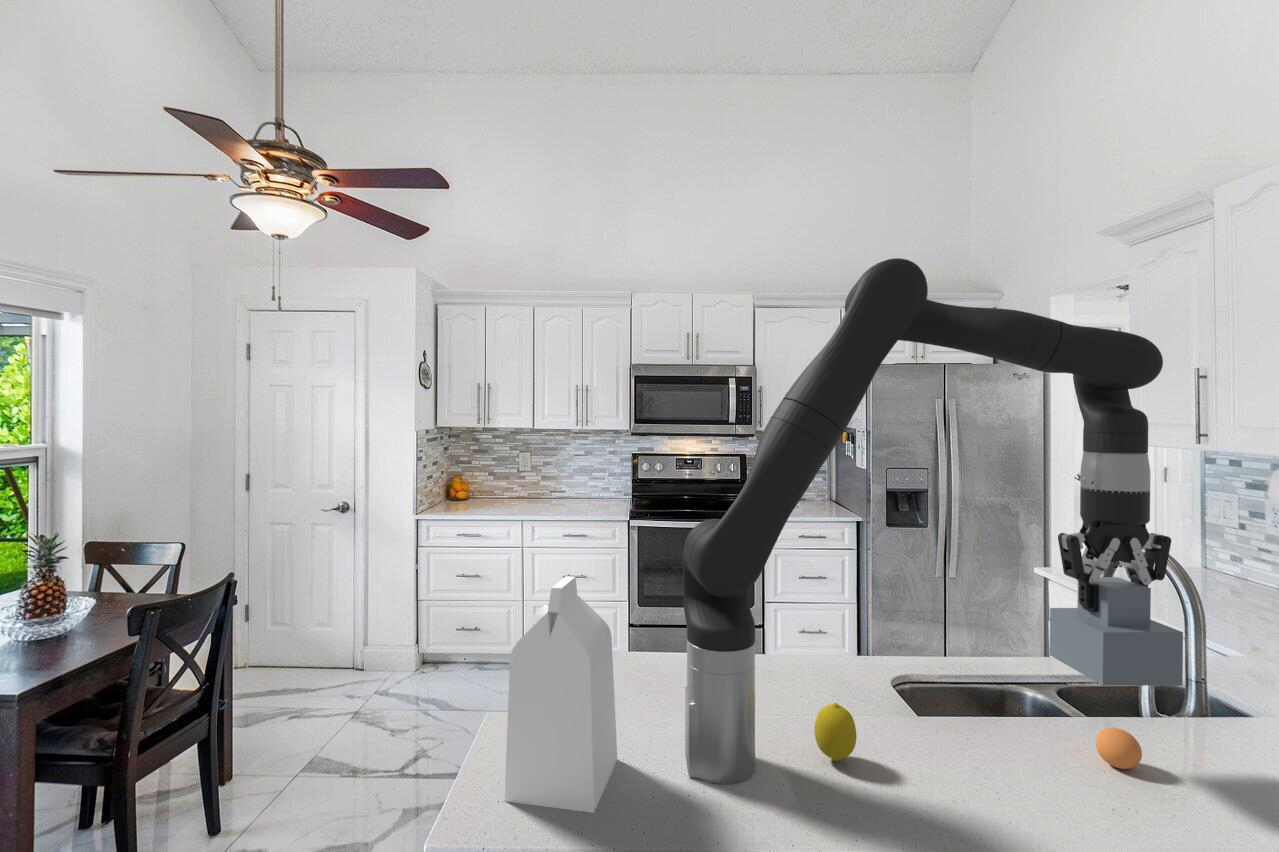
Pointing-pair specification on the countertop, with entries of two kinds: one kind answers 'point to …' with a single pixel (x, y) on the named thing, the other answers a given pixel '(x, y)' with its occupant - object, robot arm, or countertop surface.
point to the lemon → (835, 732)
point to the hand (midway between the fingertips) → (1113, 610)
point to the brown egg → (1118, 748)
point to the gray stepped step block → (1118, 638)
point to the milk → (561, 707)
